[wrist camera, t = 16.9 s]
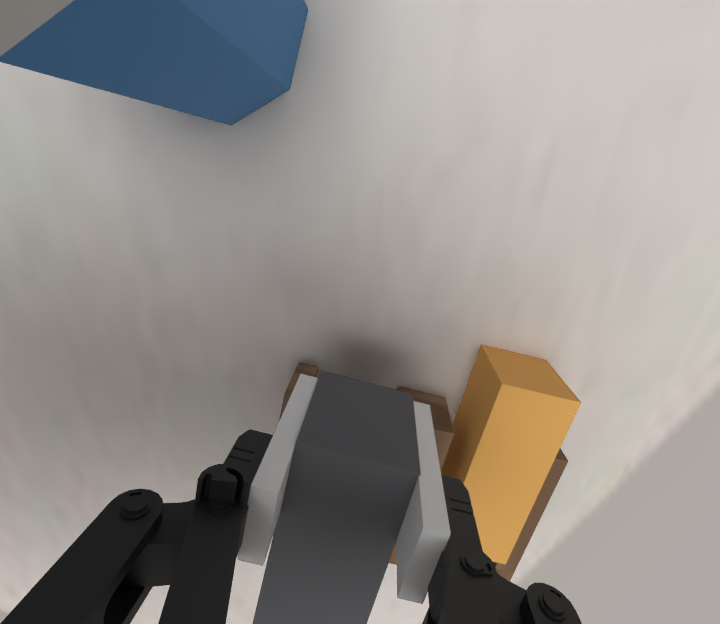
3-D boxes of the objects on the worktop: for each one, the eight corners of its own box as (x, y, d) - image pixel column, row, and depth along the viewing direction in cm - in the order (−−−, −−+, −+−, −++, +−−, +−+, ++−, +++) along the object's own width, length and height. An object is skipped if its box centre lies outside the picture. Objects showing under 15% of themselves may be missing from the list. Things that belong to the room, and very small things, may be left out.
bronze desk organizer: (273, 487, 30) (257, 532, 26) (298, 362, 26) (284, 393, 23) (491, 539, 30) (505, 590, 26) (543, 421, 26) (568, 461, 23)
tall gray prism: (274, 561, 21) (240, 672, 16) (321, 370, 18) (295, 441, 13) (351, 580, 21) (340, 696, 17) (412, 394, 18) (420, 473, 13)
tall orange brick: (429, 486, 29) (438, 549, 24) (480, 343, 25) (501, 383, 21) (486, 499, 29) (505, 564, 24) (545, 358, 25) (581, 402, 21)
